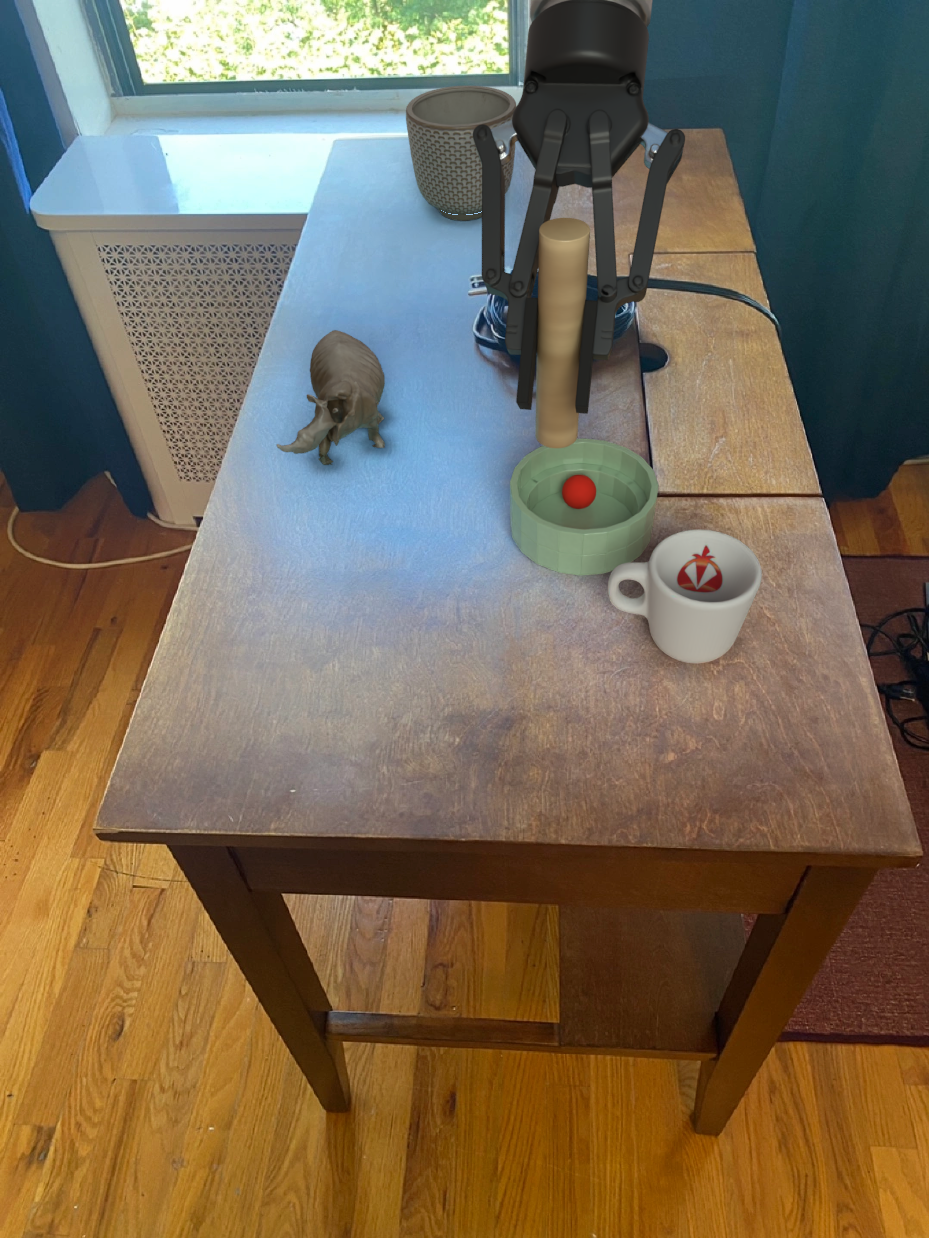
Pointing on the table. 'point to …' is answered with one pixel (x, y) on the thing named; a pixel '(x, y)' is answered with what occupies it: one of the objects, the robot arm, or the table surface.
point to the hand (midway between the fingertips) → (552, 407)
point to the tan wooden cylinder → (560, 327)
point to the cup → (692, 592)
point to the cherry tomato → (579, 491)
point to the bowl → (591, 533)
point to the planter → (454, 145)
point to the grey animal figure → (341, 395)
